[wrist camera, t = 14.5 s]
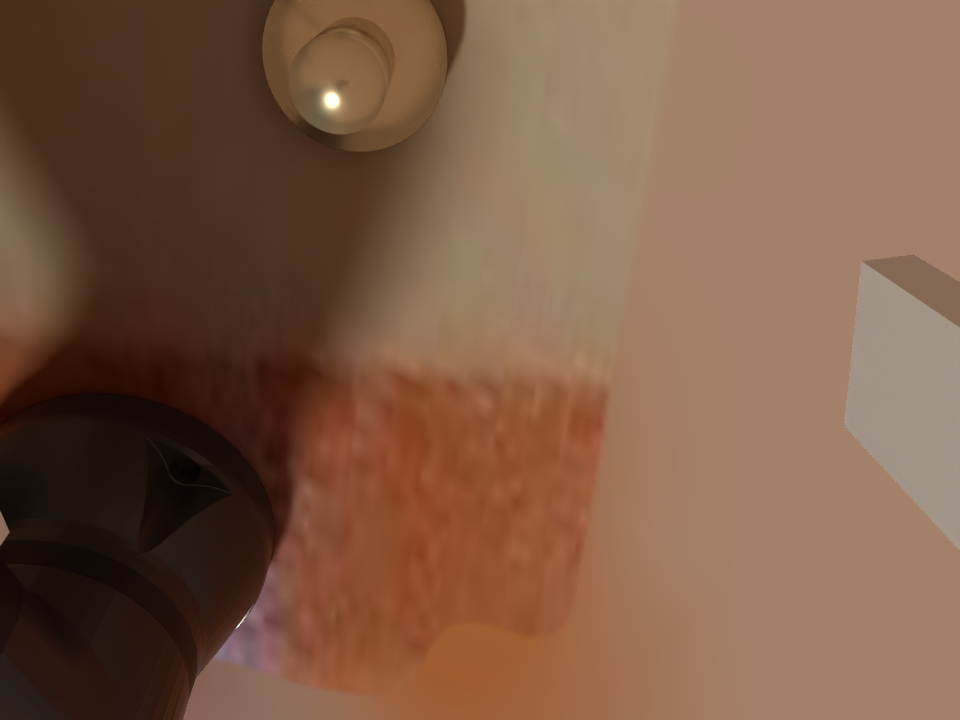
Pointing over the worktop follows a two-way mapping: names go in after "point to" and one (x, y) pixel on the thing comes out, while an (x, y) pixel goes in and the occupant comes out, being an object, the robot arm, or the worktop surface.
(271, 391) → the worktop surface
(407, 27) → the stand
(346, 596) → the worktop surface
